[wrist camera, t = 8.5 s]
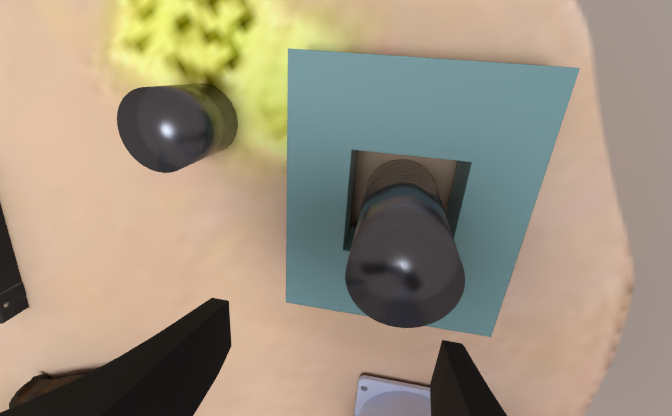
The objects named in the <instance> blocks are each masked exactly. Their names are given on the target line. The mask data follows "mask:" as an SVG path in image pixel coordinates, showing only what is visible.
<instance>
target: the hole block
mask: <svg viewBox="0 0 672 416" xmlns="http://www.w3.org/2000/svg"><path fill="white" fill-rule="evenodd" d="M579 69H580V68H572V67H557V66H542V65H527V64H512V63H497V62H482V61H467V60H452V59H437V58H422V57H407V56H392V55H376V54H361V53H346V52H331V51H316V50H301V49H288V122H287V244H286V302H287V303H293V304H299V305H305V306H311V307H317V308H323V309H329V310H335V311H340V312H346V313H352V314H358V315H364V316H367V315H366V314H365V313H363V312H362V311H361V310H360V309H359V308H358V307H357V306H356V304H355V303H354V302H353V300H352V299H351V297H350V295H349V293H348V290H347V287H346V281H345V271H346V266H347V262H348V258H349V254H350V250H351V246H352V242H353V238H354V234H355V231H356V227H350V219H351V209H352V198H353V187H354V176H355V165H356V155H357V150H361V151H371V152H380V153H390V154H399V155H409V156H418V157H428V158H438V159H447V160H457V161H458V162H457V166H456V171H455V175H454V180H453V185H452V189H451V194H450V198H449V203H448V208H447V212H446V218H447V221H448V224H449V227H450V230H451V233H452V236H453V239H454V241H455V244H456V247H457V250H458V253H459V256H460V259H461V262H462V265H463V268H464V272H465V288H464V292H463V295H462V297H461V299H460V301H459V303H458V304H457V305H456V307H455V308H454V309H453V310H452V311H451V312H450V313H449V314H448V315H446V316H445V317H444V318H442V319H440V320H439V321H436V322H434V323H432V324H429V325H426V326H429V327H435V328H441V329H447V330H453V331H459V332H465V333H471V334H477V335H483V336H489V337H491V335H492V332H493V329H494V326H495V323H496V320H497V317H498V314H499V311H500V308H501V305H502V302H503V299H504V296H505V293H506V290H507V287H508V284H509V281H510V278H511V275H512V272H513V269H514V266H515V263H516V260H517V257H518V254H519V251H520V248H521V245H522V242H523V238H524V235H525V232H526V229H527V226H528V223H529V220H530V217H531V214H532V211H533V208H534V205H535V202H536V199H537V196H538V193H539V190H540V187H541V184H542V181H543V178H544V175H545V172H546V169H547V166H548V163H549V160H550V157H551V154H552V151H553V148H554V145H555V142H556V139H557V136H558V133H559V130H560V126H561V123H562V120H563V117H564V114H565V111H566V108H567V105H568V102H569V99H570V96H571V93H572V90H573V87H574V84H575V81H576V78H577V75H578V72H579Z"/></svg>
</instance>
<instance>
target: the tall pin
mask: <svg viewBox="0 0 672 416" xmlns="http://www.w3.org/2000/svg"><path fill="white" fill-rule="evenodd" d="M345 281H346V287H347V290H348V293H349V295H350V297H351V299H352V300H353V302H354V303H355V304H356V306H357V307H358V308H359V309H360V310H361V311H362V312H363V313H365V314H366V315H367V316H369V317H370V318H372V319H374V320H376V321H378V322H380V323H383V324H386V325H389V326H394V327H401V328H414V327H421V326H426V325H429V324H432V323H434V322H436V321H439V320H440V319H442V318H444V317H445V316H446V315H448V314H449V313H450V312H451V311H452V310H453V309H454V308H455V307H456V305H457V304H458V303H459V301H460V299H461V297H462V295H463V292H464V288H465V272H464V268H463V265H462V262H461V259H460V256H459V253H458V250H457V247H456V244H455V241H454V239H453V236H452V233H451V230H450V227H449V224H448V221H447V218H446V215H445V212H444V209H443V206H442V203H441V201H440V198H439V195H438V192H437V189H436V186H435V183H434V180H433V178H432V176H431V174H430V173H429V172H428V171H427V169H426V168H424V167H423V166H422V165H420V164H419V163H416V162H414V161H411V160H405V159H398V160H392V161H389V162H386V163H384V164H383V165H381V166H380V167H378V168H377V169H376V170H375V171H374V172H373V174H372V175H371V177H370V179H369V181H368V184H367V188H366V192H365V195H364V199H363V203H362V207H361V211H360V215H359V219H358V223H357V227H356V231H355V234H354V238H353V242H352V246H351V250H350V254H349V258H348V262H347V266H346V271H345Z"/></svg>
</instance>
